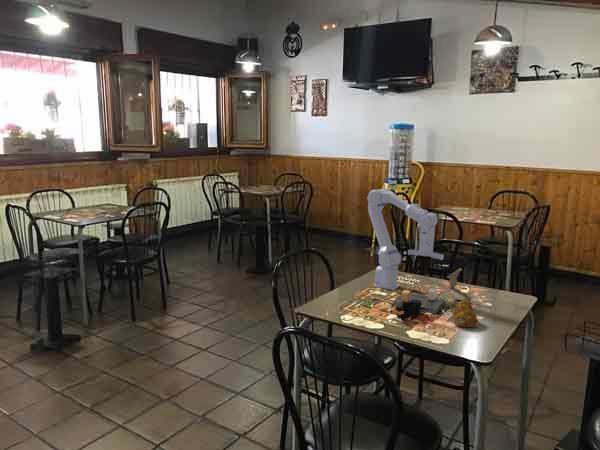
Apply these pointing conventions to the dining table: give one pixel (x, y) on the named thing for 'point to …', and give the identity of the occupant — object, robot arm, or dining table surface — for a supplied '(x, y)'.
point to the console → (423, 302)
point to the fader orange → (405, 295)
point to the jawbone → (453, 283)
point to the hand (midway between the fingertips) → (423, 273)
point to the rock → (465, 315)
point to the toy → (409, 309)
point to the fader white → (432, 294)
